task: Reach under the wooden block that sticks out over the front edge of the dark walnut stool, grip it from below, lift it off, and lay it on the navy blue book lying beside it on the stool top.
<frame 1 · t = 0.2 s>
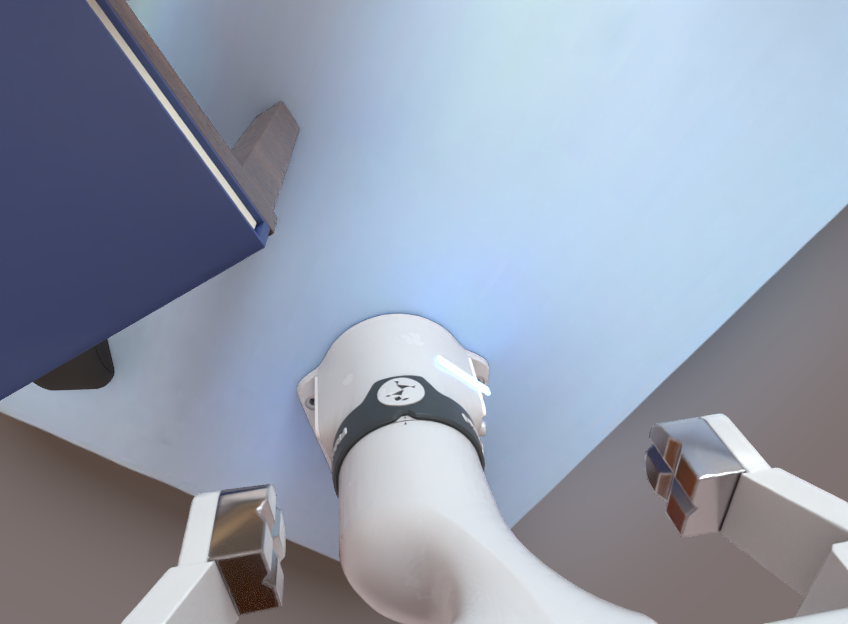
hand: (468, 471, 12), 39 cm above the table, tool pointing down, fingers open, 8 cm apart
stool: (144, 54, 42), on the table
computer mouse: (67, 328, 51), on the table
book: (34, 205, 22), resting on stool
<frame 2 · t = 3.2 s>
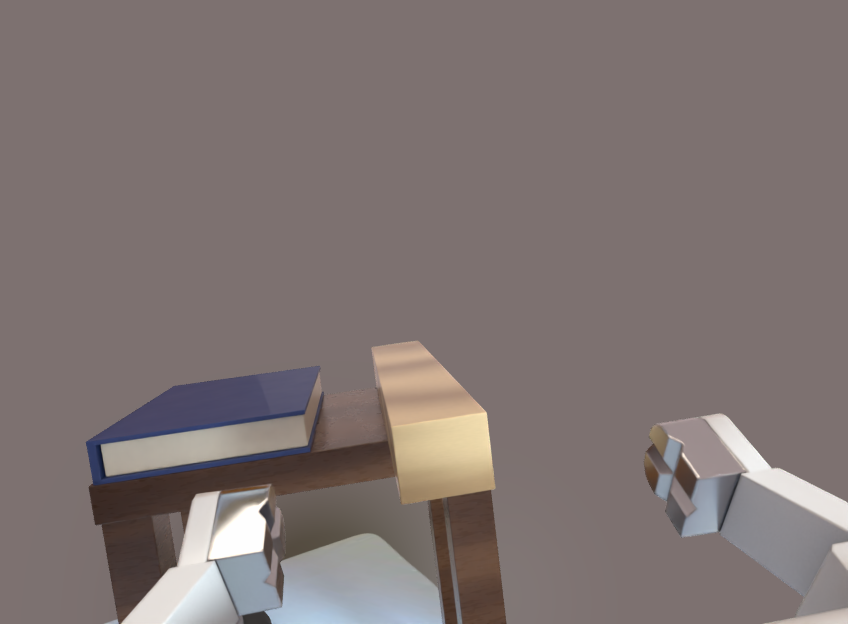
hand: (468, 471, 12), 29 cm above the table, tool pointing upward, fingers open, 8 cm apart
book: (232, 430, 36), resting on stool
wooden block: (416, 420, 33), point 25 cm above the table, touching stool
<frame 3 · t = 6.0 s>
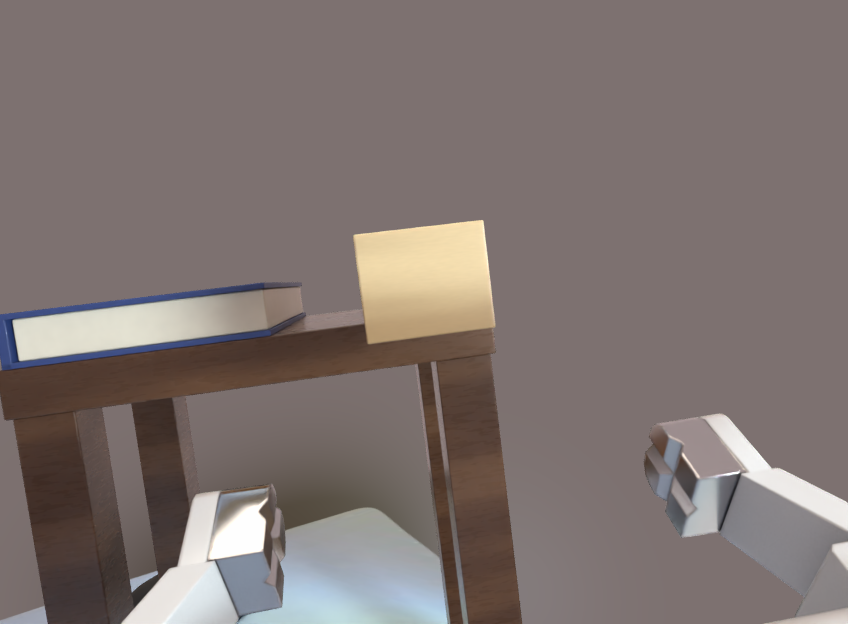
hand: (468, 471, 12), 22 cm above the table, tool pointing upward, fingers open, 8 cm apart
computer mouse: (189, 614, 51), on the table
book: (191, 336, 30), resting on stool
wooden block: (404, 313, 27), point 25 cm above the table, touching stool
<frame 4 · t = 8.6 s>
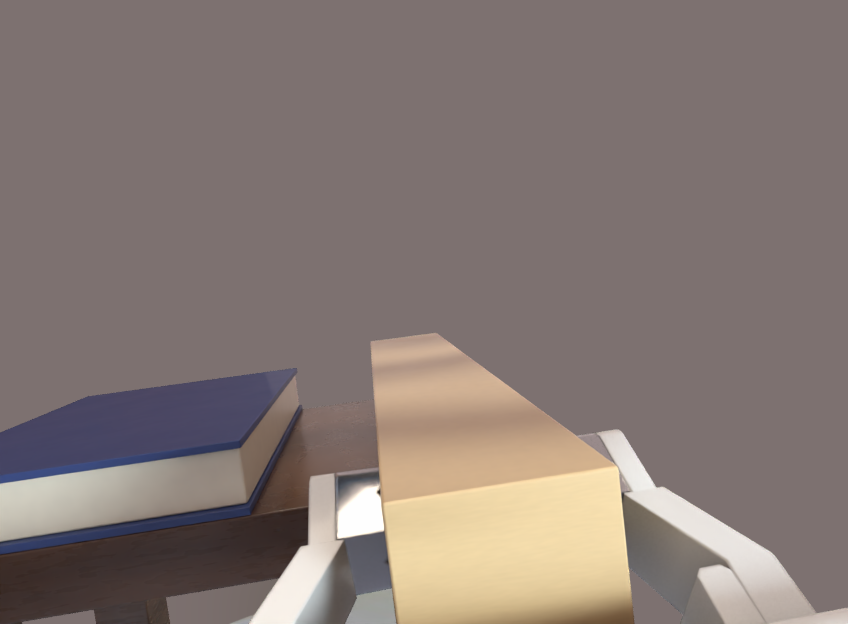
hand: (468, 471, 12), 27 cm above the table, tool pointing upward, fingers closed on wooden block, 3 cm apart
book: (150, 466, 23), resting on stool
wooden block: (435, 453, 20), point 25 cm above the table, touching gripper
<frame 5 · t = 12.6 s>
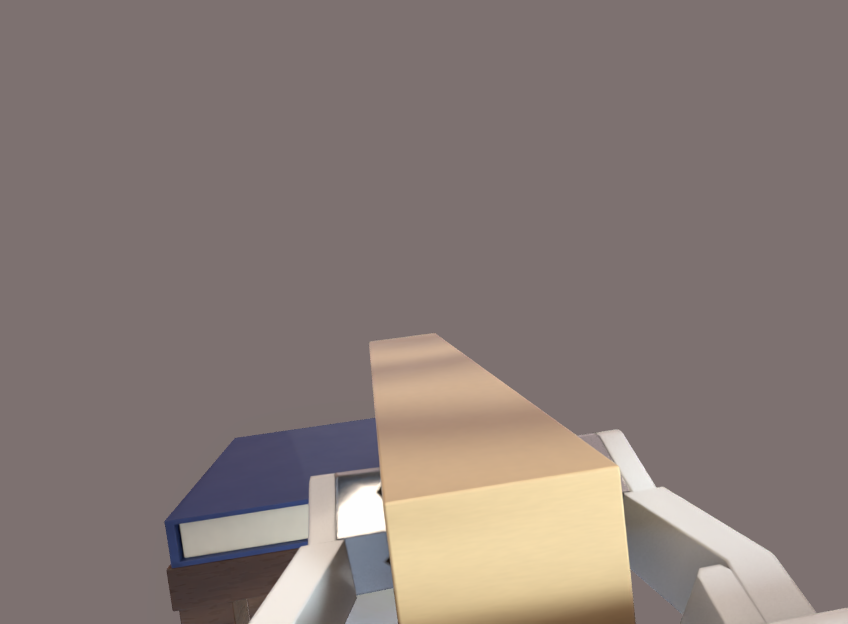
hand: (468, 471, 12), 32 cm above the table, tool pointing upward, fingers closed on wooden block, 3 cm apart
book: (305, 494, 34), resting on stool
wooden block: (434, 454, 20), point 31 cm above the table, touching gripper
when the fingers open (29 cm above the table, at t = 17.0 s): wooden block stays where it is, resting on book.
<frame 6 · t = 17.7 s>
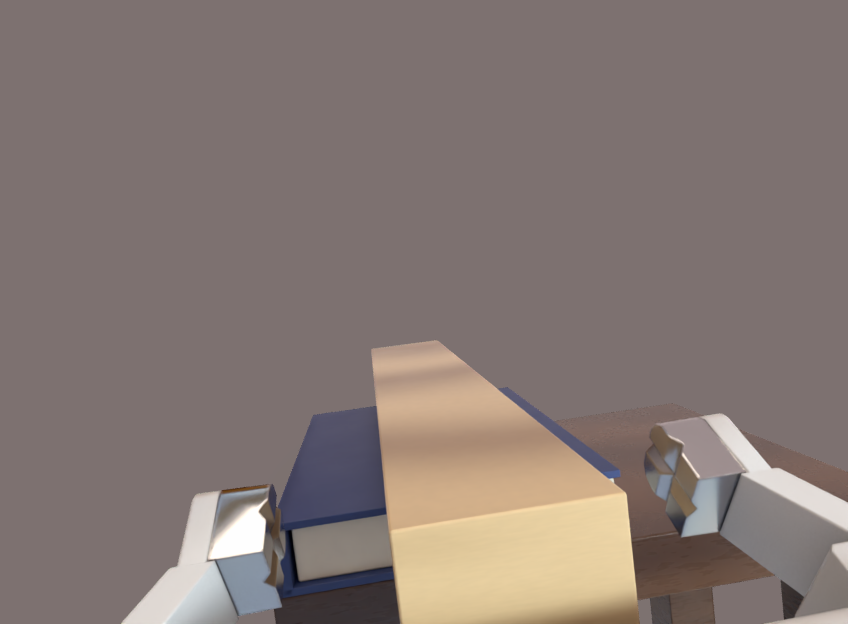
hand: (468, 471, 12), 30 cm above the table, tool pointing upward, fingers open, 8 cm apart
book: (432, 486, 24), resting on stool
wooden block: (437, 465, 20), point 27 cm above the table, touching book
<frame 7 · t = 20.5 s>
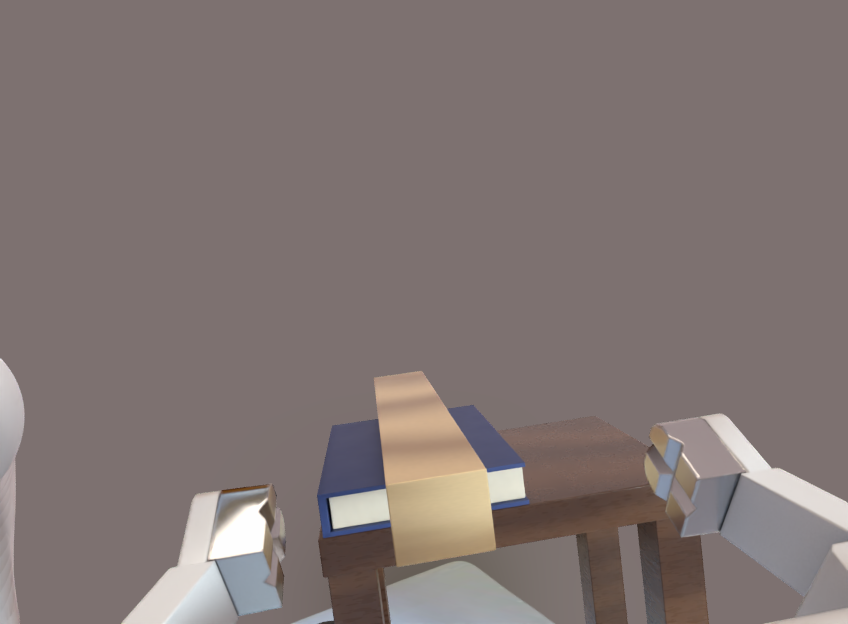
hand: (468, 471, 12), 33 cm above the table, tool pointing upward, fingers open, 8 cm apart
book: (415, 475, 36), resting on stool
wooden block: (417, 460, 32), point 27 cm above the table, touching book
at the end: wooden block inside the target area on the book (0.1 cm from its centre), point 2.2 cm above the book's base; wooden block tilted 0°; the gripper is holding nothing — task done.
